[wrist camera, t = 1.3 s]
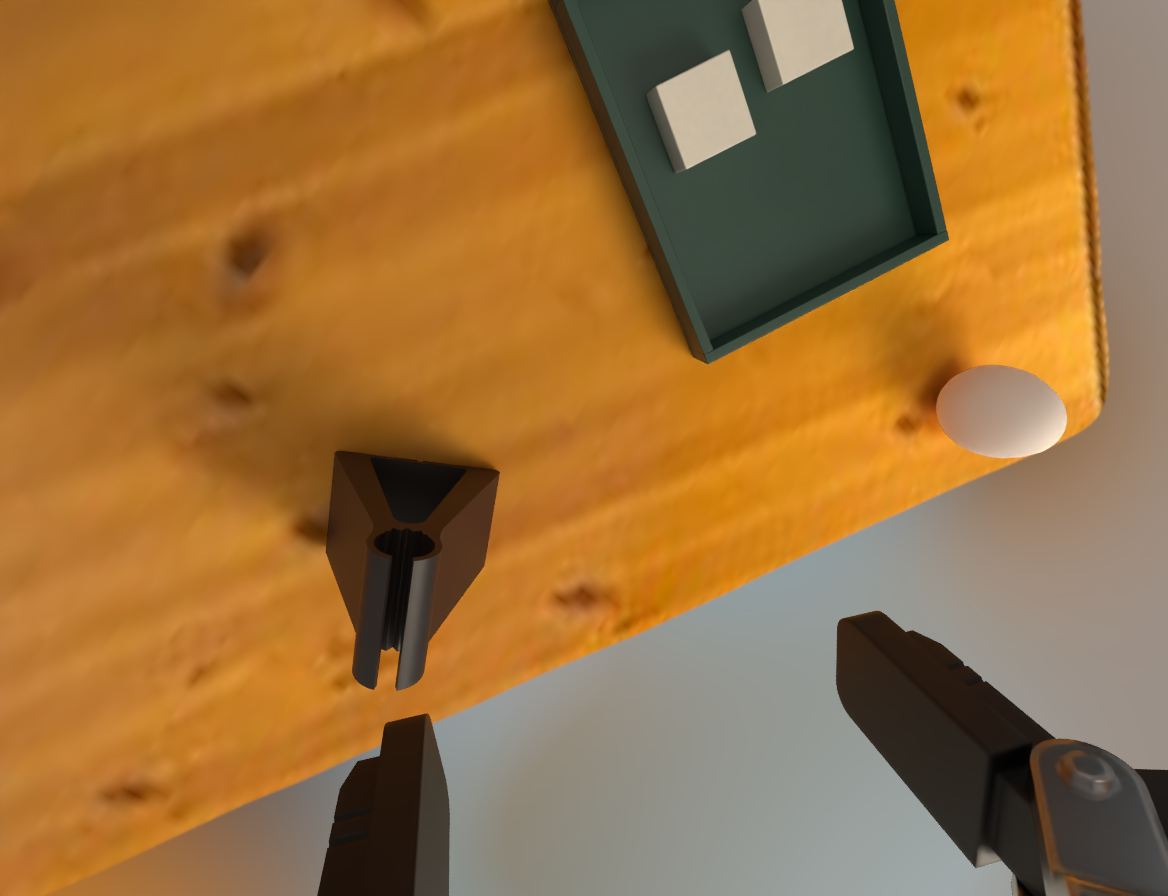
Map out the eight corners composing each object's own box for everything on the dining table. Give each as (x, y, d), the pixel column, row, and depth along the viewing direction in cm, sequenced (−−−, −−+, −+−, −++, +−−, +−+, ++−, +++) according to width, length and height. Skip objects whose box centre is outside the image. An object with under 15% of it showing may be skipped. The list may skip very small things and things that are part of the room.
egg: (983, 344, 40) (1098, 366, 33) (990, 421, 42) (1100, 457, 35) (908, 372, 40) (1007, 400, 32) (917, 448, 41) (1014, 490, 34)
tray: (547, -1, 30) (554, -21, 28) (828, -139, 30) (856, -169, 28) (693, 357, 37) (707, 364, 34) (921, 240, 37) (949, 239, 35)
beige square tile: (644, 94, 31) (655, 85, 30) (715, 59, 32) (729, 48, 30) (674, 173, 33) (686, 169, 31) (741, 139, 33) (757, 133, 31)
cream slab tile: (740, 9, 31) (756, -5, 29) (811, -26, 31) (831, -42, 30) (766, 93, 32) (783, 84, 31) (834, 59, 33) (854, 48, 31)
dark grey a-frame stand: (500, 470, 36) (517, 570, 25) (483, 563, 38) (493, 695, 27) (336, 449, 34) (276, 547, 23) (326, 548, 36) (266, 685, 25)
